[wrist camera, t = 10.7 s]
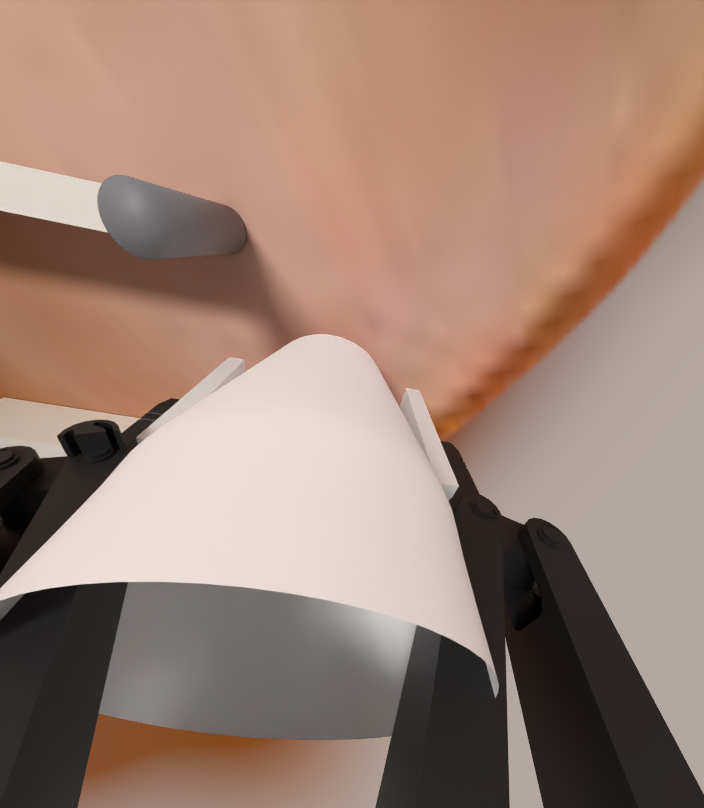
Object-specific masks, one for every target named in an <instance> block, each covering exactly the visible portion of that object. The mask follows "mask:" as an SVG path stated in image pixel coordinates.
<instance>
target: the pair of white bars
mask: <svg viewBox="0 0 704 808" xmlns="http://www.w3.org/2000/svg"><path fill="white" fill-rule="evenodd" d="M0 211H5V212H10V213H15V214H20V215H25V216H30V217H34V218H39V219H44V220H49V221H54V222H59V223H64V224H69V225H74V226H79V227H83V228H88V229H93V230H98V231H103V232H108V233H109V234H110V236H111V237H112V238H113V239H114V241H115V242H116V243H117V244H118V245H119V246H120V247H122V248H123V249H124V250H125V251H127V252H128V253H130V254H132V255H134V256H136V257H139V258H142V259H164V258H179V257H193V256H208V255H223V254H234V253H237V252H239V251H240V250H241V249H242V248H243V247H244V245H245V242H246V228H245V225H244V222H243V220H242V219H241V217H240V216H239V214H238V213H237V212H236V211H235V210H233V209H232V208H230V207H228V206H226V205H222V204H219V203H216V202H212V201H209V200H205V199H202V198H199V197H195V196H192V195H189V194H185V193H182V192H179V191H175V190H172V189H169V188H165V187H162V186H159V185H155V184H152V183H149V182H145V181H142V180H139V179H135V178H132V177H129V176H124V175H115V176H111V177H109V178H107V179H106V180H105V181H104V182H103V183H97V182H93V181H88V180H83V179H79V178H74V177H70V176H65V175H60V174H56V173H51V172H47V171H42V170H37V169H33V168H28V167H24V166H19V165H14V164H10V163H5V162H0ZM139 419H141V418H135V417H128V416H122V415H115V414H109V413H102V412H96V411H90V410H83V409H77V408H70V407H64V406H57V405H51V404H44V403H38V402H31V401H25V400H18V399H12V398H5V397H4V398H2V399H0V448H5V447H10V446H27V447H31V448H33V449H34V450H36V452H37V454H38V455H39V457H40V458H51V457H65V456H67V455H66V453H65V451H64V449H63V447H62V445H61V443H60V442H59V440H58V438H57V435H58V434H59V433H61V432H62V431H63V430H64V429H66V428H68V427H70V426H72V425H75V424H78V423H81V422H84V421H91V420H109V421H113V422H115V423H116V424H117V425H118V426H119V428H120V431H121V433H122V432H124V431H125V430H126V429H127V428H129V427H130V426H131V425H132V424H134V423H135V422H136V421H137V420H139Z"/></svg>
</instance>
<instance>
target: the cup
mask: <svg viewBox="0 0 704 808" xmlns="http://www.w3.org/2000/svg"><path fill="white" fill-rule="evenodd" d="M111 582H128V584H127V589H126V593H125V598H124V602H123V607H122V611H121V615H120V620H119V624H118V629H117V633H116V638H115V642H114V647H113V651H112V655H111V660H110V664H109V669H108V673H107V678H106V682H105V687H104V691H103V695H102V700H101V704H100V709H99V713H100V714H104V715H108V716H112V717H117V718H121V719H126V720H131V721H136V722H140V723H146V724H151V725H156V726H163V727H168V728H174V729H182V730H188V731H196V732H203V733H211V734H221V735H230V736H241V737H254V738H270V739H292V740H294V739H295V740H344V739H365V738H378V737H387V736H392V733H393V728H394V724H395V719H396V715H397V710H398V706H399V701H400V697H401V693H402V688H403V684H404V679H405V675H406V670H407V666H408V662H409V657H410V653H411V648H412V644H413V639H414V635H415V630H416V626H417V625H419V626H421V627H424V628H427V629H429V630H431V631H434V632H436V633H438V634H441V635H443V636H445V637H447V638H450V639H452V640H453V641H455V642H457V643H459V644H461V645H462V646H464V647H466V648H468V649H469V650H471V651H472V652H474V653H475V654H476V655H478V656H479V657H481V658H482V659H483V660H484V661H485V662H486V666H487V669H488V673H489V677H490V680H491V684H492V688H493V692H494V695H495V698H496V696H497V694H498V690H499V683H498V679H497V676H496V672H495V669H494V665H493V662H492V658H491V655H490V651H489V647H488V644H487V640H486V637H485V633H484V630H483V626H482V623H481V619H480V616H479V612H478V609H477V605H476V602H475V598H474V594H473V590H472V587H471V583H470V579H469V576H468V572H467V568H466V565H465V561H464V557H463V553H462V549H461V544H460V540H459V536H458V531H457V527H456V523H455V519H454V515H453V512H452V508H451V506H450V504H449V501H448V499H447V497H446V495H445V492H444V490H443V488H442V486H441V483H440V481H439V479H438V478H437V476H436V474H435V472H434V470H433V468H432V466H431V465H430V463H429V461H428V459H427V457H426V455H425V453H424V451H423V450H422V448H421V446H420V444H419V442H418V440H417V439H416V437H415V435H414V433H413V431H412V429H411V427H410V426H409V424H408V422H407V420H406V418H405V416H404V415H403V413H402V411H401V409H400V407H399V405H398V404H397V402H396V400H395V398H394V396H393V394H392V393H391V391H390V389H389V387H388V385H387V383H386V382H385V380H384V378H383V376H382V374H381V372H380V371H379V369H378V367H377V365H376V364H375V362H374V360H373V359H372V358H371V357H370V355H369V354H368V353H367V352H366V351H364V350H363V349H362V348H361V347H359V346H358V345H357V344H355V343H353V342H351V341H349V340H347V339H344V338H341V337H338V336H334V335H327V334H316V335H308V336H304V337H301V338H298V339H296V340H294V341H292V342H290V343H289V344H287V345H286V346H284V347H283V348H281V349H279V350H278V351H276V352H275V353H273V354H272V355H270V356H269V357H267V358H266V359H264V360H263V361H261V362H259V363H258V364H256V365H255V366H253V367H252V368H250V369H249V370H247V371H246V372H244V373H243V374H241V375H239V376H238V377H236V378H235V379H233V380H232V381H230V382H229V383H227V384H226V385H224V386H223V387H221V388H219V389H218V390H216V391H215V392H213V393H212V394H210V395H209V396H207V397H206V398H204V399H203V400H201V401H200V402H198V403H197V404H195V405H194V406H192V407H190V408H189V409H187V410H186V411H184V412H183V413H181V414H180V415H178V416H177V417H175V418H174V419H172V420H171V421H169V422H168V423H166V424H165V425H163V426H162V427H160V428H159V429H157V430H156V431H155V432H153V433H152V434H151V435H150V436H148V437H147V438H146V439H145V440H143V441H142V442H141V443H140V444H139V445H137V446H136V447H135V448H134V449H133V450H132V451H131V452H130V453H129V454H128V455H127V456H126V457H125V458H124V460H123V461H122V462H121V463H120V464H119V465H118V467H117V468H116V469H115V470H114V471H113V472H112V473H111V475H110V476H109V477H108V478H107V479H106V480H105V481H104V483H103V484H102V485H101V486H100V487H99V488H98V489H97V490H96V491H95V492H94V493H93V494H92V495H91V496H90V497H89V498H88V500H87V501H86V502H85V503H84V504H83V505H82V506H81V507H80V508H79V509H78V510H77V511H76V512H75V513H74V514H73V515H72V516H71V517H70V518H69V519H68V520H67V521H66V522H65V523H64V524H63V525H62V526H61V527H60V529H59V530H58V531H57V532H56V533H55V534H54V535H53V536H52V537H51V538H50V539H49V540H48V541H47V542H46V543H45V544H44V545H43V546H42V547H41V548H40V549H39V550H38V551H37V552H36V553H35V554H34V555H33V556H32V557H31V558H30V559H29V560H28V561H27V562H26V563H25V564H24V565H23V566H22V567H21V568H20V569H19V570H18V571H17V572H16V573H15V574H14V575H13V576H12V577H11V578H10V579H9V580H8V581H7V582H6V583H5V584H4V585H3V586H2V587H1V588H0V620H1V619H2V618H3V617H4V616H5V615H6V614H7V613H8V612H9V610H10V609H11V608H12V607H13V606H14V605H15V604H16V603H17V602H18V601H19V600H20V598H21V597H22V596H23V595H24V594H25V593H29V592H34V591H38V590H43V589H48V588H56V587H64V586H72V585H80V584H94V583H111Z"/></svg>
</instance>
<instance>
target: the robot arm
mask: <svg viewBox="0 0 704 808" xmlns="http://www.w3.org/2000/svg"><path fill="white" fill-rule="evenodd" d="M244 372H245V362H244V360H243V359H238V358H232V357H229V358H228V359H227V360H225V361H224V362H223V363H222V364H221V365H220V366H219V367H217V368H216V369H215V370H214V371H213V372H212V373H210V374H209V375H208V376H207V377H206V378H205V379H203V380H202V381H201V382H200V383H199V384H198V385H196V386H195V387H194V388H193V389H192V390H191V391H189V392H188V393H187V394H186V395H185V396H184V397H183V398H181V399H180V400H179V399H172V398H171V399H169V400H167V401H164V402H162V403H159V404H158V405H156V406H155V407H154V408H153V409H151V410H150V411H149V413H146V414H145V415H144V416H143V417H141V419H139V420H137V421H136V422H135V423H134V424H132V425H131V426H130V427H129V428H127V429H126V430H125V431H124V432H122V433H121V431H120V428H119V426H118V425H117V424H116V423H115V422H113V421H109V420H91V421H84V422H81V423H78V424H75V425H72V426H70V427H68V428H66V429H64V430H63V431H62V432H61V433H59V434H58V435H57V438H58V440H59V442H60V443H61V445H62V447H63V449H64V451H65V453H66V455H67V456H65V457H51V458H40V457H39V455H38V454H37V452H36V450H34V449H33V448H31V447H27V446H10V447H5V448H0V588H1V587H2V586H3V585H4V584H5V583H6V582H7V581H8V580H9V579H10V578H11V577H12V576H13V575H14V574H15V573H16V572H17V571H18V570H19V569H20V568H21V567H22V566H23V565H24V564H25V563H26V562H27V561H28V560H29V559H30V558H31V557H32V556H33V555H34V554H35V553H36V552H37V551H38V550H39V549H40V548H41V547H42V546H43V545H44V544H45V543H46V542H47V541H48V540H49V539H50V538H51V537H52V536H53V535H54V534H55V533H56V532H57V531H58V530H59V529H60V527H61V526H62V525H63V524H64V523H65V522H66V521H67V520H68V519H69V518H70V517H71V516H72V515H73V514H74V513H75V512H76V511H77V510H78V509H79V508H80V507H81V506H82V505H83V504H84V503H85V502H86V501H87V500H88V498H89V497H90V496H91V495H92V494H93V493H94V492H95V491H96V490H97V489H98V488H99V487H100V486H101V485H102V484H103V483H104V481H105V480H106V479H107V478H108V477H109V476H110V475H111V473H112V472H113V471H114V470H115V469H116V468H117V467H118V465H119V464H120V463H121V462H122V461H123V460H124V458H125V457H126V456H127V455H128V454H129V453H130V452H131V451H132V450H133V449H134V448H135V447H136V446H137V445H139V444H140V443H141V442H142V441H143V440H145V439H146V438H147V437H148V436H150V435H151V434H152V433H153V432H155V431H156V430H157V429H159V428H160V427H162V426H163V425H165V424H166V423H168V422H169V421H171V420H172V419H174V418H175V417H177V416H178V415H180V414H181V413H183V412H184V411H186V410H187V409H189V408H190V407H192V406H194V405H195V404H197V403H198V402H200V401H201V400H203V399H204V398H206V397H207V396H209V395H210V394H212V393H213V392H215V391H216V390H218V389H219V388H221V387H223V386H224V385H226V384H227V383H229V382H230V381H232V380H233V379H235V378H236V377H238V376H239V375H241V374H243V373H244ZM400 409H401V411H402V413H403V415H404V416H405V418H406V420H407V422H408V424H409V426H410V427H411V429H412V431H413V433H414V435H415V437H416V439H417V440H418V442H419V444H420V446H421V448H422V450H423V451H424V453H425V455H426V457H427V459H428V461H429V463H430V465H431V466H432V468H433V470H434V472H435V474H436V476H437V478H438V479H439V481H440V483H441V486H442V488H443V490H444V492H445V495H446V497H447V499H448V501H449V504H450V506H451V508H452V512H453V515H454V519H455V523H456V527H457V531H458V536H459V540H460V544H461V549H462V553H463V557H464V561H465V565H466V568H467V572H468V576H469V579H470V583H471V587H472V590H473V594H474V598H475V602H476V605H477V609H478V612H479V616H480V619H481V623H482V626H483V630H484V633H485V637H486V640H487V644H488V647H489V651H490V655H491V658H492V662H493V665H494V669H495V672H496V676H497V679H498V683H499V690H498V694H497V696H496V698H495V695H494V692H493V688H492V684H491V680H490V677H489V673H488V669H487V666H486V662H485V661H484V660H483V659H482V658H481V657H479V656H478V655H476V654H475V653H474V652H472V651H471V650H469V649H468V648H466V647H464V646H462V645H461V644H459V643H457V642H455V641H453V640H452V639H450V638H447V637H445V636H443V635H441V634H438V633H436V632H434V631H431V630H429V629H427V628H424V627H421V626H419V625H417V626H416V630H415V635H414V639H413V644H412V648H411V653H410V657H409V662H408V666H407V670H406V675H405V679H404V684H403V688H402V693H401V697H400V701H399V706H398V710H397V715H396V719H395V724H394V728H393V733H392V737H391V741H390V746H389V751H388V755H387V759H386V764H385V768H384V773H383V777H382V781H381V786H380V790H379V795H378V799H377V804H376V808H509V772H508V771H509V770H508V731H507V695H506V694H507V693H506V655H505V638H506V642H507V647H508V651H509V655H510V660H511V664H512V669H513V673H514V678H515V682H516V687H517V691H518V695H519V700H520V704H521V709H522V713H523V718H524V722H525V726H526V731H527V735H528V739H529V744H530V749H531V753H532V757H533V761H534V767H535V771H536V775H537V780H538V784H539V788H540V793H541V797H542V802H543V806H544V808H704V794H703V792H702V791H701V789H700V787H699V785H698V783H697V781H696V779H695V777H694V775H693V773H692V772H691V770H690V768H689V766H688V764H687V762H686V760H685V758H684V756H683V755H682V753H681V751H680V749H679V747H678V745H677V743H676V741H675V740H674V738H673V736H672V734H671V732H670V730H669V728H668V726H667V724H666V722H665V720H664V719H663V717H662V715H661V713H660V711H659V709H658V707H657V705H656V704H655V702H654V700H653V698H652V696H651V694H650V692H649V690H648V688H647V687H646V685H645V683H644V681H643V679H642V677H641V675H640V673H639V671H638V669H637V668H636V666H635V664H634V662H633V660H632V658H631V656H630V655H629V652H628V651H627V649H626V647H625V645H624V643H623V641H622V639H621V637H620V635H619V634H618V632H617V630H616V628H615V626H614V624H613V622H612V620H611V618H610V617H609V615H608V613H607V611H606V609H605V607H604V605H603V603H602V602H601V600H600V598H599V596H598V594H597V592H596V590H595V588H594V586H593V585H592V583H591V581H590V579H589V577H588V575H587V573H586V571H585V569H584V568H583V566H582V564H581V562H580V560H579V558H578V556H577V554H576V552H575V550H574V549H573V547H572V545H571V543H570V542H569V540H568V539H567V537H566V536H565V535H564V534H563V533H562V532H561V531H560V530H559V529H558V528H557V527H555V526H554V525H552V524H551V523H549V522H547V521H545V520H542V519H538V518H532V519H529V520H528V521H527V522H526V523H525V524H524V525H523V524H521V523H518V522H516V521H513V520H511V519H509V518H506V517H504V516H502V515H501V513H500V511H499V510H498V508H497V507H496V506H495V505H494V504H493V503H492V502H491V501H490V500H489V499H487V498H485V497H484V496H482V495H480V494H479V492H478V490H477V488H476V486H475V484H474V482H473V479H472V477H471V475H470V473H469V471H468V469H466V465H465V463H464V462H463V459H462V457H461V455H460V453H459V451H458V450H457V449H456V448H455V447H454V446H453V445H452V444H451V443H449V442H443V441H440V439H439V437H438V434H437V432H436V429H435V427H434V425H433V422H432V420H431V417H430V415H429V413H428V410H427V408H426V405H425V403H424V401H423V398H422V396H421V393H420V391H419V390H414V389H408V388H406V389H405V392H404V395H403V398H402V401H401V404H400ZM127 584H128V582H111V583H94V584H80V585H72V586H64V587H56V588H48V589H43V590H38V591H34V592H29V593H25V594H24V595H23V596H22V597H21V598H20V600H19V601H18V602H17V603H16V604H15V605H14V606H13V607H12V608H11V609H10V610H9V612H8V613H7V614H6V615H5V616H4V617H3V618H2V619H1V620H0V808H77V807H78V802H79V798H80V793H81V789H82V784H83V780H84V776H85V771H86V767H87V762H88V758H89V753H90V749H91V744H92V740H93V736H94V731H95V726H96V722H97V718H98V713H99V709H100V704H101V700H102V695H103V691H104V687H105V682H106V678H107V673H108V669H109V664H110V660H111V655H112V651H113V647H114V642H115V638H116V633H117V629H118V624H119V620H120V615H121V611H122V607H123V602H124V598H125V593H126V589H127Z"/></svg>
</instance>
